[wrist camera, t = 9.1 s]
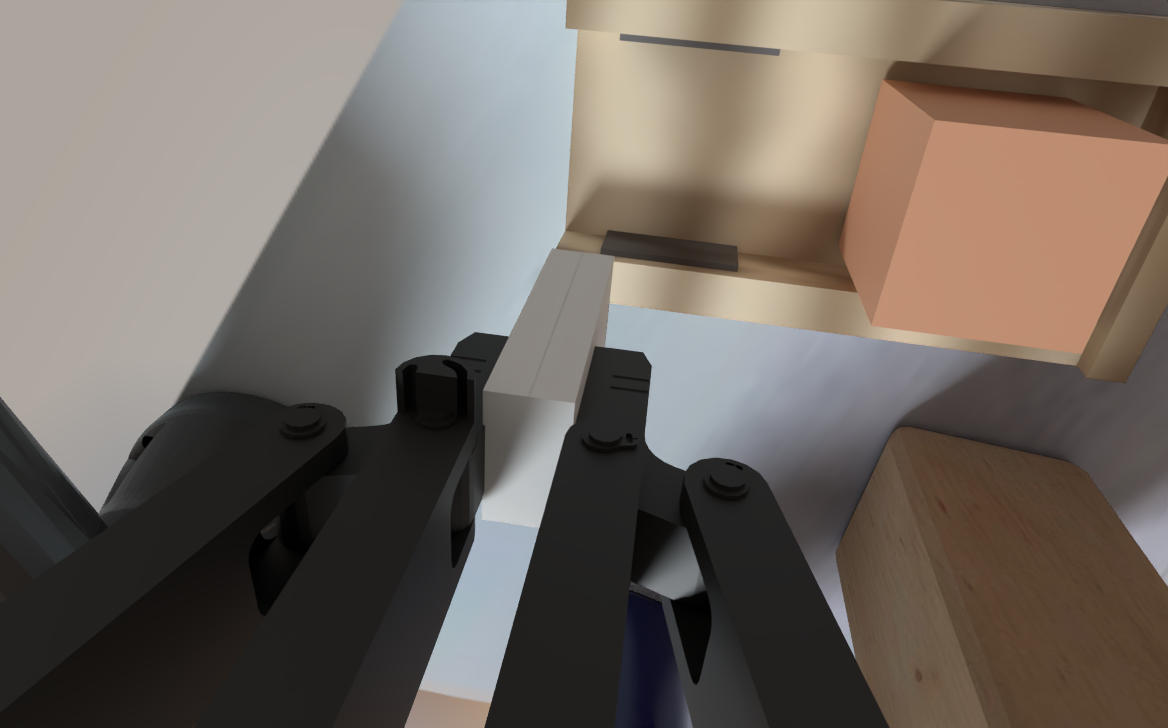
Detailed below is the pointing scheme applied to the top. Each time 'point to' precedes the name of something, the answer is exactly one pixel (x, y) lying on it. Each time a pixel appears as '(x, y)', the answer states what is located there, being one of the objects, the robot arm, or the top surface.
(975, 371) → the top surface
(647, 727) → the bottle
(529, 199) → the top surface
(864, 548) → the wooden block
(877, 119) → the terracotta block
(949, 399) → the top surface
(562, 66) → the top surface
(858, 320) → the wooden tray
